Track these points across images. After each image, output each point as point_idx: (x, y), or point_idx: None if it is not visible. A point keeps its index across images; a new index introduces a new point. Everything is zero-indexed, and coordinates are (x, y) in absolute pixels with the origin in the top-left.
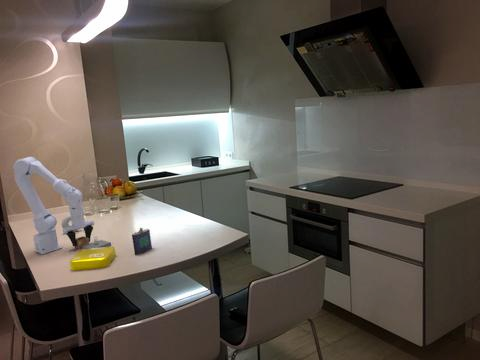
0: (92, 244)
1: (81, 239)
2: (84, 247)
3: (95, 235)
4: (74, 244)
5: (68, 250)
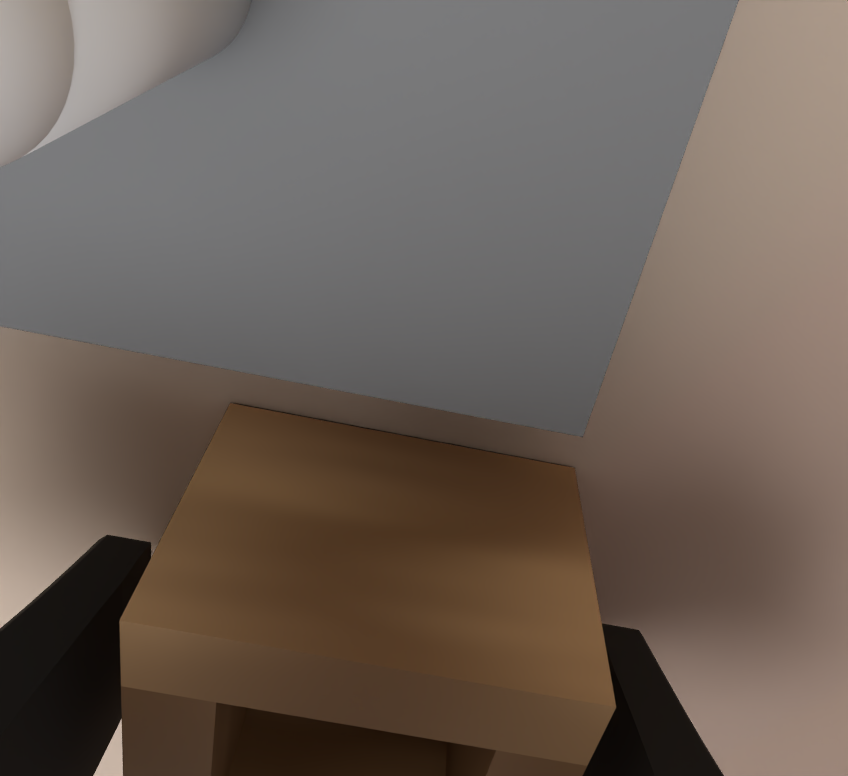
0: (267, 172)
1: (417, 722)
2: (644, 254)
3: None
4: (663, 700)
5: (722, 672)
